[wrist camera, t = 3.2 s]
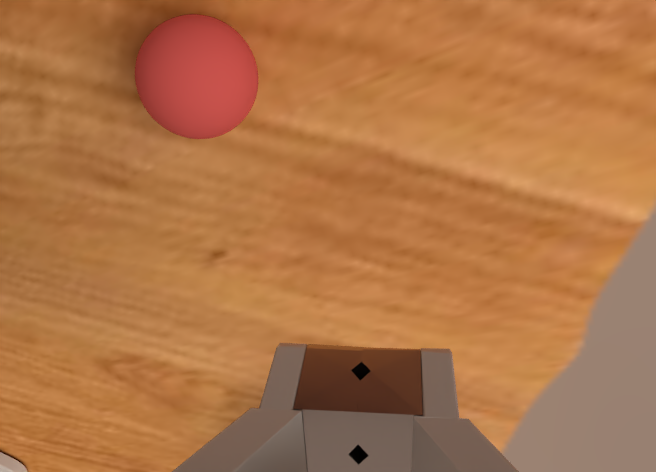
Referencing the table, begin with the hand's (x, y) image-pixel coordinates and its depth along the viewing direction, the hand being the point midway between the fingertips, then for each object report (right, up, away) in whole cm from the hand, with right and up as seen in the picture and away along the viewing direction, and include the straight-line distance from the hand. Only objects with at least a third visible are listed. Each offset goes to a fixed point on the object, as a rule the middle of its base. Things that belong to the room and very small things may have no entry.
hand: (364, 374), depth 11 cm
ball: (-7, +10, +19) cm, 23 cm away
